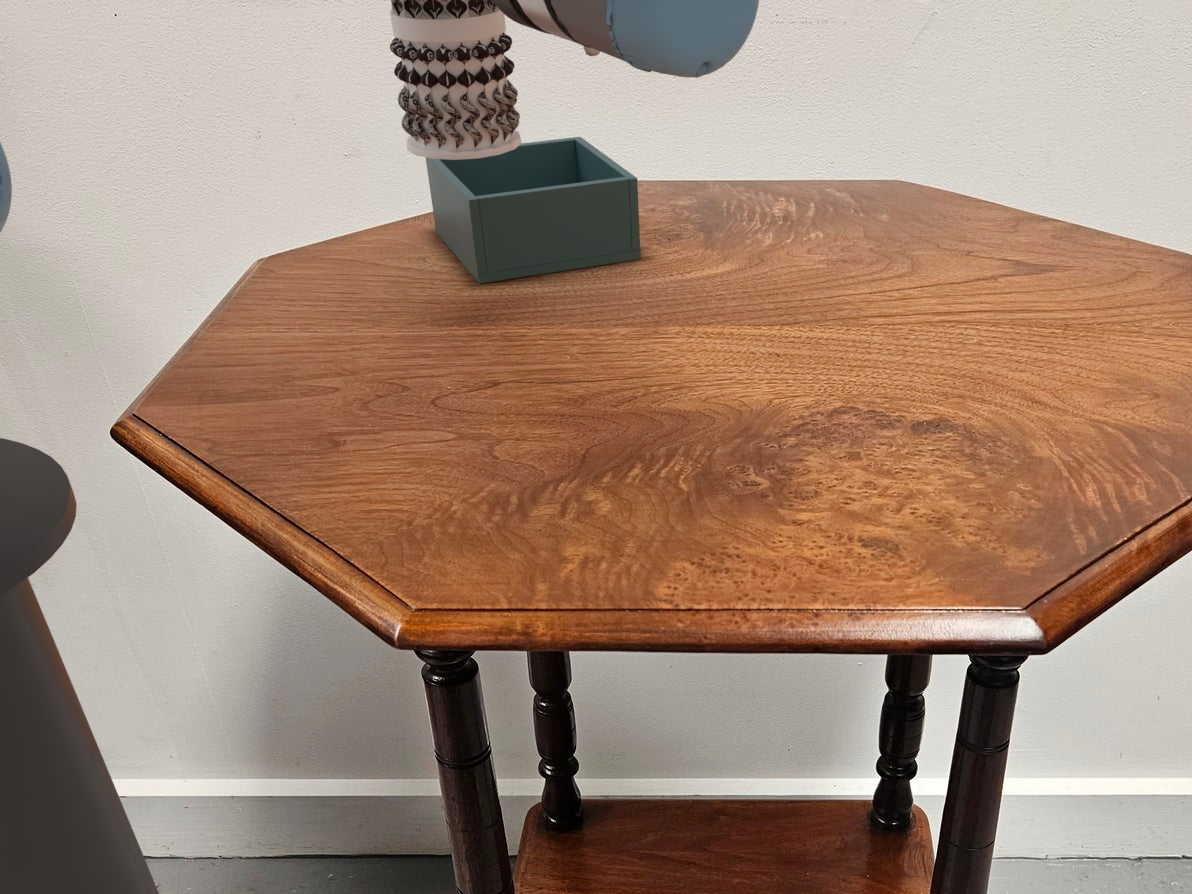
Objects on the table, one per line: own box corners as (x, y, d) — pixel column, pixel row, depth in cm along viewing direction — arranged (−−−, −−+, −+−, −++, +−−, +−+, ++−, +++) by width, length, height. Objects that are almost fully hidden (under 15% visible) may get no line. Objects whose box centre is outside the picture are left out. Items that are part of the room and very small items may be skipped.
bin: (479, 284, 105) (468, 199, 101) (436, 232, 115) (424, 154, 111) (641, 259, 110) (637, 177, 105) (585, 212, 120) (580, 136, 116)
